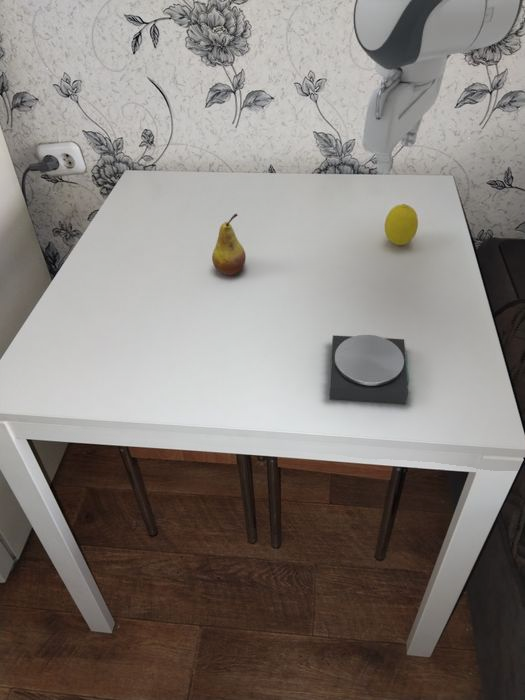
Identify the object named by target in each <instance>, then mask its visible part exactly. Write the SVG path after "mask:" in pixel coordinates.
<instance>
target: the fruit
mask: <svg viewBox="0 0 525 700" xmlns="http://www.w3.org/2000/svg"><path fill="white" fill-rule="evenodd" d="M238 216H239V215H238V213H234V214H233V215H232V217H230V219H229V220H228V221H225V222H223V223H222V224H221V225H220V227H219V230H218V237H217V240H216V244H215V247H214V249H213V251H212V256H211V260H212V264H213V266H214V268H215V269H216V270H217V271H218V272H219V273H221V274H224V275H226V276H233V275H236V274H239V272H241V270H242V269H243V268H244V267H245V264H246V260H247V259H246V258H247V257H246V252H245V249H244V247H243V245H242V244H241V243H240V241H239V240H238V238H237V236H236V233H235V230H234V228H233V226H232V225H231V222H232V221H233V220H234V219H235V218H237V217H238Z"/></svg>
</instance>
